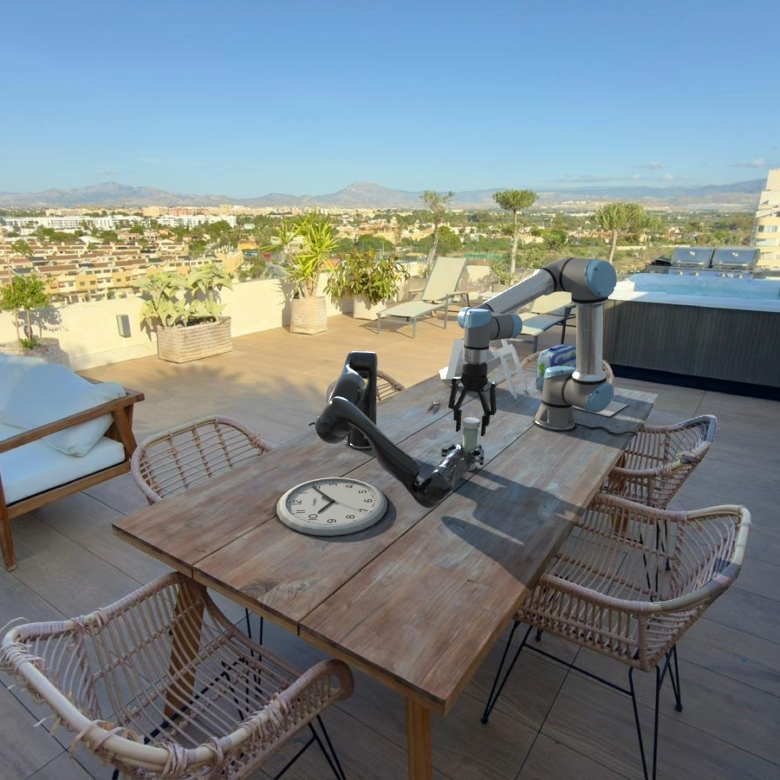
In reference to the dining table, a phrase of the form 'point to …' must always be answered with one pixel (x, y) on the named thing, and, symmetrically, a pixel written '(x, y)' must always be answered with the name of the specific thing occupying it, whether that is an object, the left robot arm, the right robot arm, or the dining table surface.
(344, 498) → the wall clock
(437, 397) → the fork
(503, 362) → the white plastic object
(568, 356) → the lunch box
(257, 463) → the dining table surface
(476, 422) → the lid
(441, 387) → the dining table surface
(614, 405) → the invitation card
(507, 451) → the dining table surface
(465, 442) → the pale green cylinder
